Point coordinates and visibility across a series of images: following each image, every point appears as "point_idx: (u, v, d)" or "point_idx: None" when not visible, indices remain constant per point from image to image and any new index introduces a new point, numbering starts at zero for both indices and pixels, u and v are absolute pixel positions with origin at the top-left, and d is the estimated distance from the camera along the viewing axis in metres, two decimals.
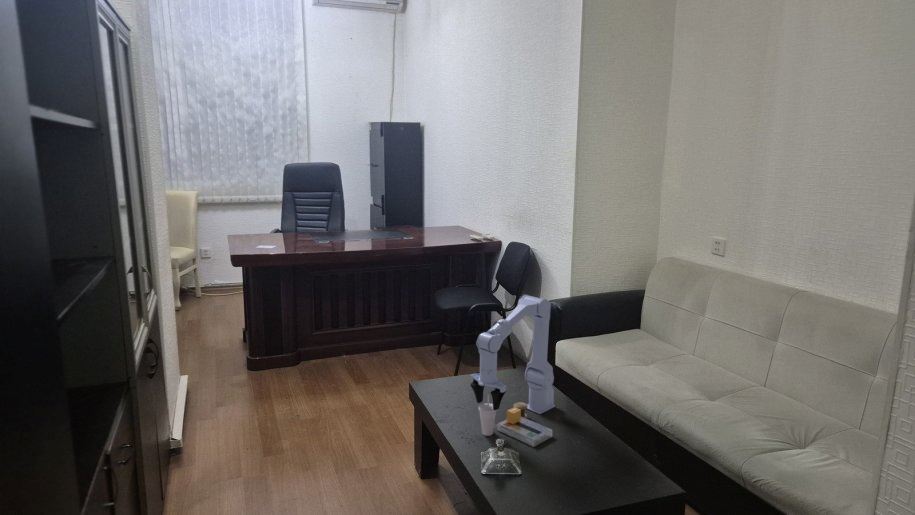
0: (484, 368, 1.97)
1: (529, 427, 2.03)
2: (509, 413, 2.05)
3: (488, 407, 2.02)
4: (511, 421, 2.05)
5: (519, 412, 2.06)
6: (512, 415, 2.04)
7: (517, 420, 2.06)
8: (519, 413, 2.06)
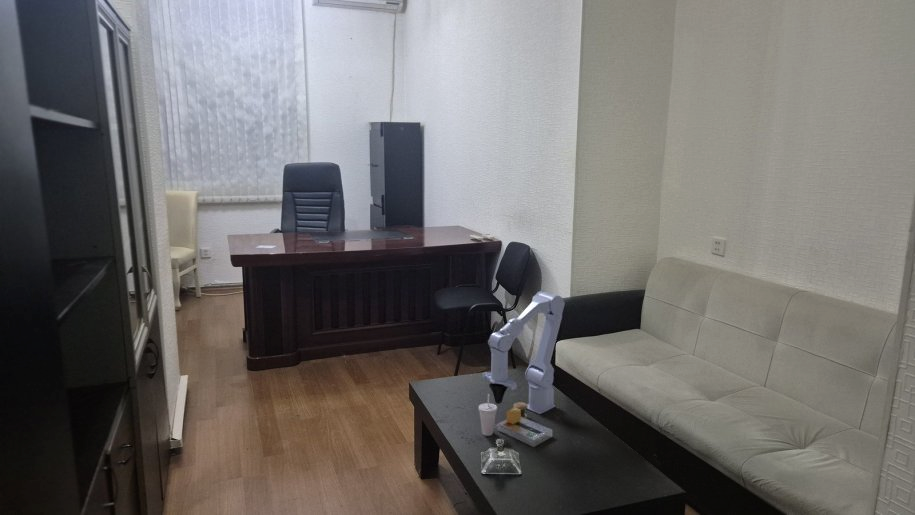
0: (494, 366, 2.06)
1: (529, 427, 2.03)
2: (509, 413, 2.05)
3: (488, 407, 2.02)
4: (511, 421, 2.05)
5: (519, 412, 2.06)
6: (512, 415, 2.04)
7: (517, 420, 2.06)
8: (519, 413, 2.06)
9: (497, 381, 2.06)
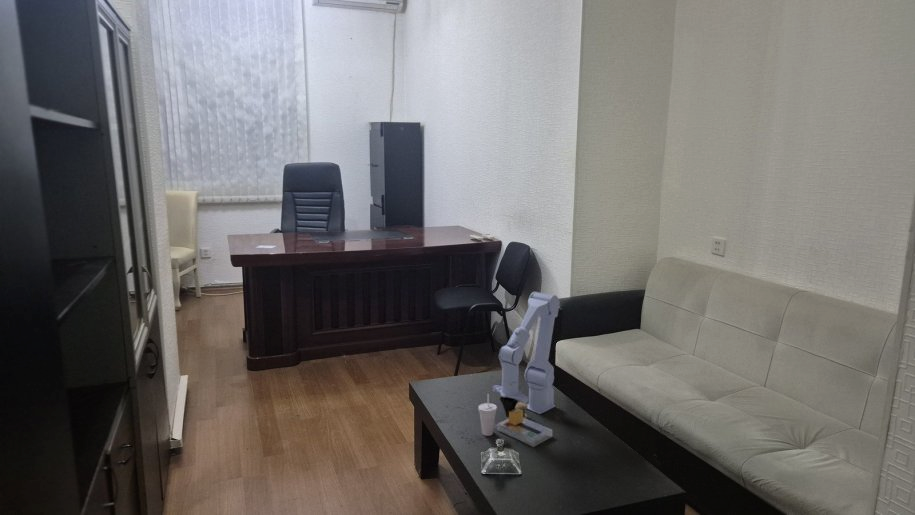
0: (507, 380, 2.03)
1: (529, 427, 2.03)
2: (511, 414, 2.04)
3: (488, 407, 2.02)
4: (513, 422, 2.04)
5: (521, 413, 2.05)
6: (515, 416, 2.03)
7: (519, 421, 2.05)
8: (521, 414, 2.05)
9: (508, 395, 2.03)
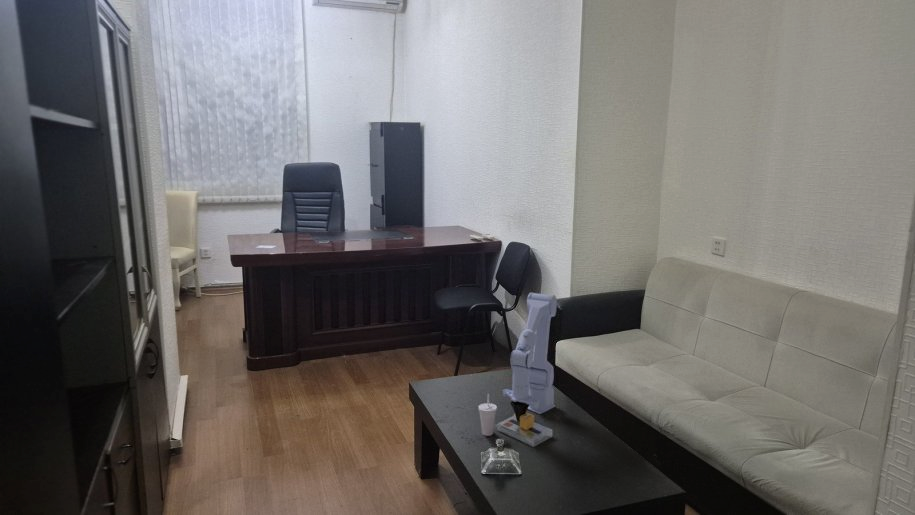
0: (520, 384, 1.99)
1: None
2: (522, 419, 2.01)
3: (488, 407, 2.02)
4: (524, 427, 2.01)
5: (532, 418, 2.02)
6: (526, 420, 2.00)
7: (530, 426, 2.02)
8: (532, 419, 2.02)
9: (519, 399, 2.00)
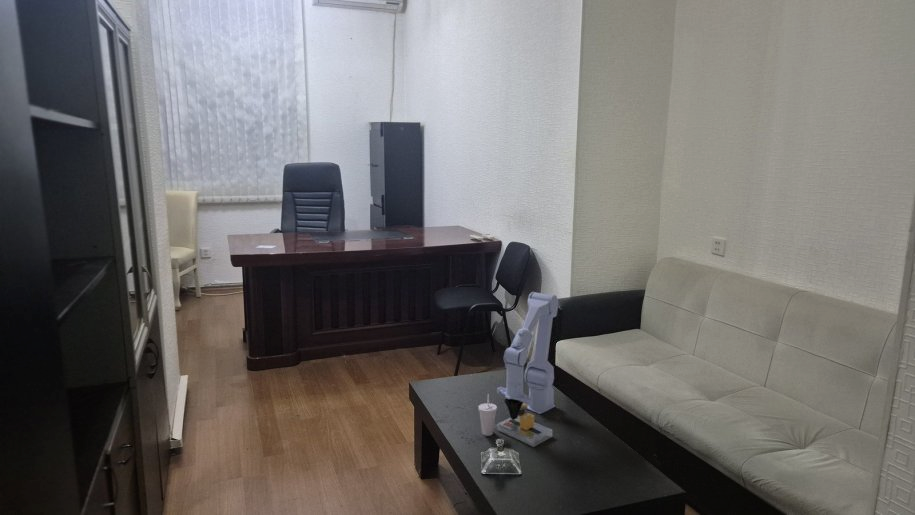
0: (513, 382, 2.01)
1: None
2: (522, 419, 2.01)
3: (488, 407, 2.02)
4: (524, 427, 2.01)
5: (533, 418, 2.02)
6: (526, 420, 2.00)
7: (531, 426, 2.02)
8: (533, 419, 2.02)
9: (513, 397, 2.02)
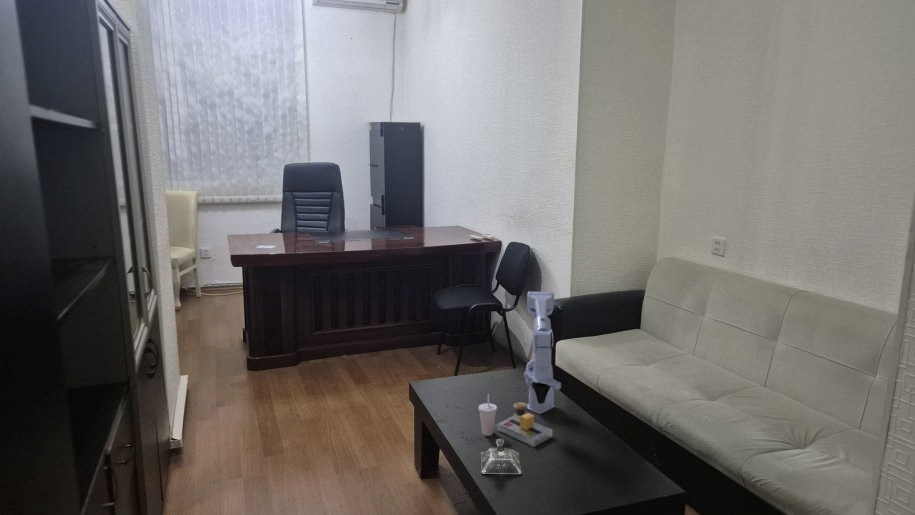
0: (545, 366, 1.98)
1: None
2: (522, 419, 2.01)
3: (488, 407, 2.02)
4: (524, 427, 2.01)
5: (533, 418, 2.02)
6: (526, 420, 2.00)
7: (531, 426, 2.02)
8: (533, 419, 2.02)
9: (540, 380, 1.99)
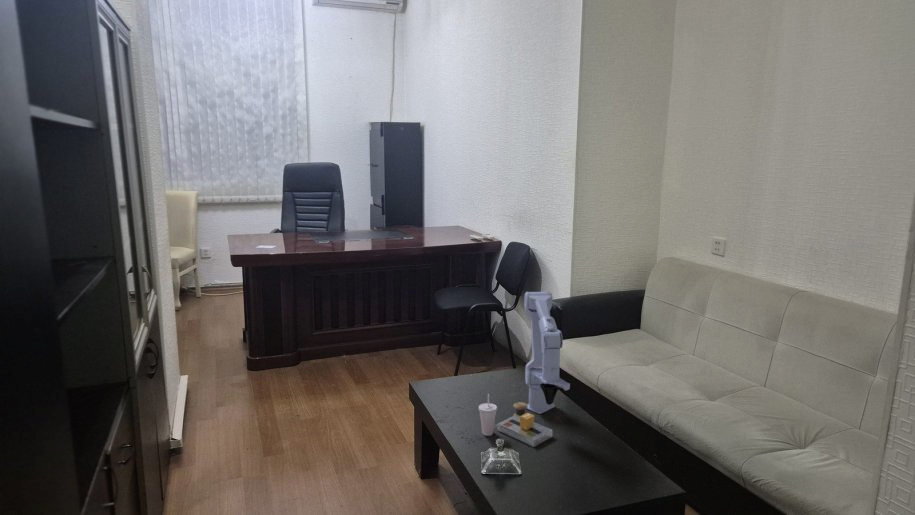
0: (555, 366, 1.98)
1: None
2: (522, 419, 2.01)
3: (488, 407, 2.02)
4: (524, 427, 2.01)
5: (533, 418, 2.02)
6: (526, 420, 2.00)
7: (531, 426, 2.02)
8: (533, 419, 2.02)
9: (549, 381, 1.99)
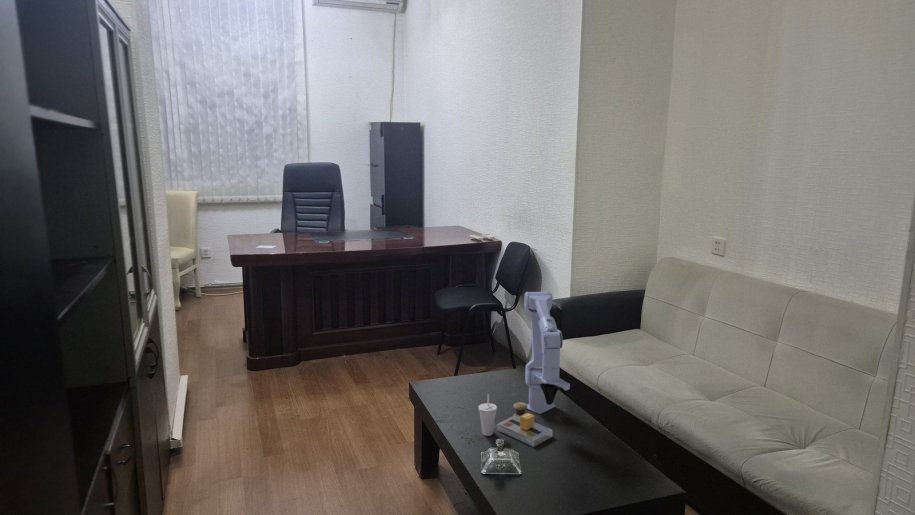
0: (555, 366, 1.98)
1: None
2: (522, 419, 2.01)
3: (488, 407, 2.02)
4: (524, 427, 2.01)
5: (533, 418, 2.02)
6: (526, 420, 2.00)
7: (531, 426, 2.02)
8: (533, 419, 2.02)
9: (549, 381, 1.99)
